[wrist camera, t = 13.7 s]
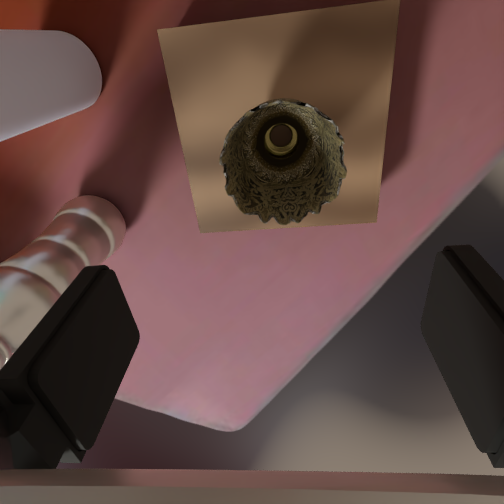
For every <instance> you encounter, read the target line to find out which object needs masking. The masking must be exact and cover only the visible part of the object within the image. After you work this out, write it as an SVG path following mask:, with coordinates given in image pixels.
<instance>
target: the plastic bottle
mask: <svg viewBox="0 0 504 504" xmlns="http://www.w3.org/2000/svg"><path fill="white" fill-rule="evenodd" d="M125 233H126V225H125V221H124V218H123V216H122V214H121V213H120V211H119V210H118V209H117V207H115V206H114V205H113V204H112V203H111V202H109V201H108V200H105V199H103V198H100V197H97V196H92V195H83V196H79V197H77V198H75V199H72V200H70V201H69V202H67V203H65V205H64V206H63V207H62V208H61V209H60V210H59V212H58V213H57V214H56V216H55V218H54V220H53V221H52V223H51V224H50V225H49V226H48V227H47V228H46V229H45V230H44V231H43V232H42V234H41V235H40V236H39V237H38V238H36V239H35V240H34V241H32V242H31V243H30V244H28V245H27V246H26V247H24V248H23V249H22V250H20V251H19V252H18V253H17V254H15V255H13V256H12V257H10V258H8V259H7V260H5V261H3V262H1V263H0V370H1V368H2V367H3V366H4V365H5V363H6V362H7V361H8V360H9V359H10V357H11V356H12V353H14V352H15V351H16V350H17V349H18V348H19V346H20V345H21V344H22V343H23V341H24V340H25V339H26V338H27V337H28V335H29V334H30V333H31V332H32V330H33V329H34V328H35V327H36V326H37V324H38V323H39V322H40V321H41V319H42V318H43V317H44V316H45V314H46V313H47V312H48V311H49V310H50V308H51V307H52V306H53V305H54V303H55V302H56V301H57V300H58V299H59V297H60V296H61V295H62V294H63V292H64V291H65V290H66V289H67V288H68V286H69V285H70V284H71V283H72V281H73V280H74V279H75V278H76V276H77V275H78V274H79V273H80V272H81V270H82V269H83V268H84V267H86V266H96V265H100V264H101V263H102V262H103V261H104V260H106V259H107V258H109V257H110V256H111V255H112V254H113V253H114V252H115V251H117V250H118V249H119V247H120V246H121V245H122V242H123V239H124V236H125Z"/></svg>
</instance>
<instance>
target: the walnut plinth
mask: <svg viewBox="0 0 504 504" xmlns="http://www.w3.org/2000/svg"><path fill="white" fill-rule="evenodd" d="M399 8H400V0H383V1H375V2H367V3H360V4H352V5H344V6H336V7H329V8H321V9H313V10H305V11H298V12H290V13H282V14H275V15H267V16H259V17H251V18H244V19H236V20H228V21H220V22H213V23H205V24H197V25H190V26H182V27H174V28H166V29H159V30H157V32H158V37H159V42H160V46H161V51H162V56H163V61H164V65H165V70H166V75H167V79H168V84H169V89H170V93H171V98H172V103H173V107H174V112H175V117H176V122H177V126H178V131H179V136H180V140H181V145H182V150H183V154H184V159H185V164H186V168H187V173H188V178H189V182H190V187H191V192H192V197H193V201H194V206H195V211H196V215H197V220H198V225H199V229H200V233H209V232H226V231H243V230H259V229H276V228H293V227H309V226H326V225H343V224H359V223H376V222H377V213H378V203H379V194H380V185H381V176H382V166H383V157H384V148H385V138H386V129H387V120H388V110H389V101H390V92H391V82H392V73H393V64H394V54H395V45H396V36H397V26H398V17H399ZM279 98H290V99H296V100H299V101H302V102H304V103H308V104H311V105H312V106H314V107H316V108H318V110H320V111H321V112H322V113H324V114H325V115H327V116H328V117H330V118H331V119H332V120H333V121H334V122H335V123H336V125H337V126H338V129H339V133H340V134H341V135H342V137H343V139H344V142H345V144H343V150H344V156H343V162H344V164H345V166H346V168H347V175H346V178H345V179H342V185H341V187H340V192H339V195H338V196H337V198H336V199H334V200H333V201H331V202H330V203H325V204H323V205H322V207H321V211H320V213H319V214H312V213H311V212H308V214H307V216H306V217H304V218H303V220H302V221H301V222H300V223H296V222H292V221H291V223H290V224H287V225H280V224H278V223H277V222H276V221H275V219H274V217H272V218H271V219H270V220H269V221H268V222H267V223H266V224H264V223H263V222H261V220H260V219H259V216H258V215H246V214H243V213H242V212H241V211H240V210H239V209H238V207H237V206H236V204H235V202H234V199H233V197H231V196H228V195H227V193H226V190H225V185H226V178H225V175H224V173H223V170H224V168H223V166H222V165H220V164H219V158H220V154H221V151H222V149H223V146H224V141H225V138H226V135H227V133H228V132H229V130H230V129H231V128H232V127H233V126H234V124H235V123H236V122H237V121H238V120H239V119H240V118H242V117H243V116H244V114H245V113H246V112H247V111H249V110H251V109H253V108H255V107H256V106H258V105H259V104H262V103H264V102H266V101H269V100H273V99H279ZM291 137H292V134H291V131H290V129H289V128H288V127H287V126H284V125H279V126H276V127H275V128H274V129H273V130H272V132H271V141H272V142H273V144H275V145H276V146H279V147H282V146H285V145H287V144H288V143H289V142H290V140H291Z"/></svg>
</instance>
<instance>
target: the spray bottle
mask: <svg viewBox="0 0 504 504" xmlns="http://www.w3.org/2000/svg"><path fill="white" fill-rule="evenodd" d="M101 88H102V75H101V70H100V67H99V64H98V62H97V60H96V58H95V56H94V55H93V53H92V52H91V50H90V49H89V48H88V47H87V46H86V45H85V44H84V43H83V42H82V41H81V40H80V39H78V38H77V37H75V36H73V35H71V34H69V33H66V32H63V31H55V30H0V142H1V141H3V140H6V139H8V138H11V137H14V136H16V135H19V134H21V133H24V132H27V131H29V130H32V129H34V128H37V127H39V126H42V125H45V124H47V123H50V122H52V121H55V120H58V119H60V118H63V117H65V116H68V115H70V114H73V113H76V112H78V111H81V110H83V109H86V108H88V107H90V106H91V105H93V104H94V103H95V102H96V100H97V99H98V97H99V95H100V92H101Z"/></svg>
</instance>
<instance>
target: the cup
mask: <svg viewBox="0 0 504 504" xmlns="http://www.w3.org/2000/svg"><path fill="white" fill-rule="evenodd" d="M279 125H284V126H287V127H288V128H289V129H290V131H291V134H292V137H291V140H290V142H289V143H288V144H287V145H285V146H282V147H279V146H276V145H275V144H273V142H272V141H271V132H272V130H273V129H274V128H275V127H276V126H279ZM343 144H345V142H344V139H343V137H342V135H341V134H340V133H339V129H338V126H337V125H336V123H335V122H334V121H333V120H332V119H331V118H330V117H328V116H327V115H325V114H324V113H322V112H321V111H320V110H318V108H316V107H314V106H312V105H311V104H308V103H304V102H302V101H299V100H296V99H290V98H279V99H273V100H269V101H266V102H264V103H262V104H259V105H258V106H256V107H255V108H253V109H251V110H249V111H247V112H246V113H245V114H244V116H243V117H242V118H240V119H239V120H238V121H237V122H236V123H235V124H234V126H233V127H232V128H231V129H230V130H229V132H228V133H227V135H226V138H225V141H224V146H223V149H222V151H221V154H220V158H219V164H220V165H222V166H223V168H224V170H223V173H224V175H225V178H226V185H225V190H226V193H227V195H228V196H231V197H233V199H234V202H235V204H236V206H237V207H238V209H239V210H240V211H241V212H242V213H243V214H246V215H258V216H259V219H260V220H261V222H263V223H264V224H266V223H267V222H268V221H269V220H270V219H271V218H272V217H274V219H275V221H276V222H277V223H278V224H280V225H287V224H290V223H291V221H292V222H296V223H300V222H301V221H302V220H303V218H304V217H306V216H307V214H308V212H311V213H312V214H319V213H320V211H321V207H322V205H323V204H325V203H330V202H331V201H333V200H334V199H336V198H337V196H338V195H339V192H340V187H341V185H342V179H345V178H346V175H347V168H346V166H345V164H344V162H343V156H344V150H343Z"/></svg>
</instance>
